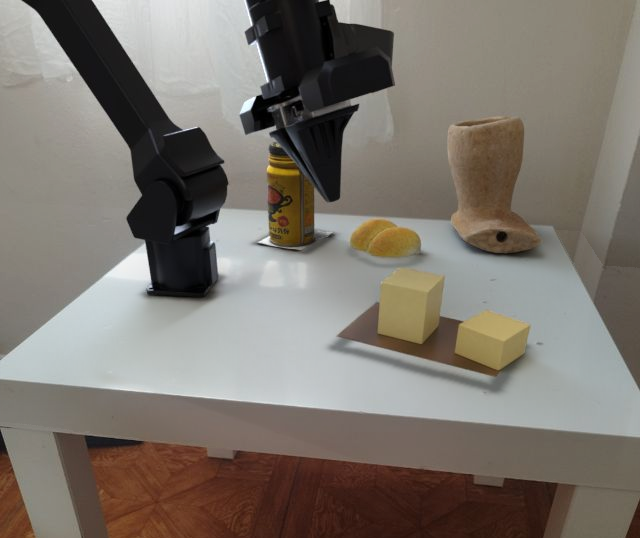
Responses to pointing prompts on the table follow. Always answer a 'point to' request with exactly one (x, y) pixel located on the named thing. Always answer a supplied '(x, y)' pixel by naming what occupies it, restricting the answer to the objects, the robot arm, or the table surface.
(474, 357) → the butter pat
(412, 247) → the bread roll
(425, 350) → the board
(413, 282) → the butter block
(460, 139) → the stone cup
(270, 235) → the condiment
